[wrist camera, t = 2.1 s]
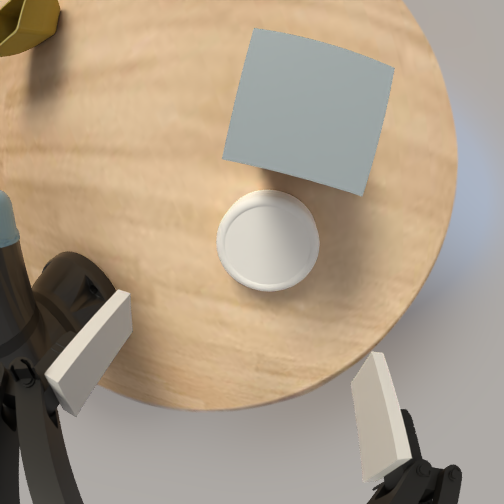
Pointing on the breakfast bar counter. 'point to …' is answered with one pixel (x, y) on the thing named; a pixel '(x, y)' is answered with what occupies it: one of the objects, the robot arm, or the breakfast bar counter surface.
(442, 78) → the breakfast bar counter surface
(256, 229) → the white round disc
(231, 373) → the breakfast bar counter surface
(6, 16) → the flower pot
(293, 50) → the block top
